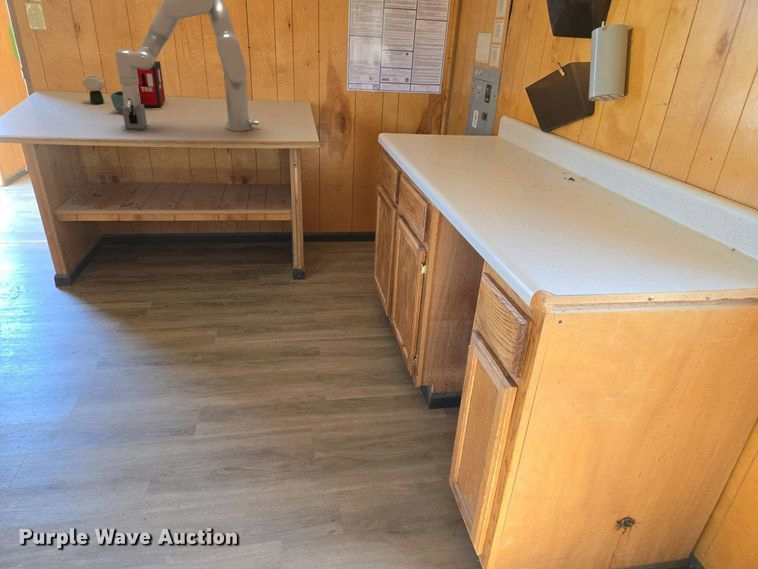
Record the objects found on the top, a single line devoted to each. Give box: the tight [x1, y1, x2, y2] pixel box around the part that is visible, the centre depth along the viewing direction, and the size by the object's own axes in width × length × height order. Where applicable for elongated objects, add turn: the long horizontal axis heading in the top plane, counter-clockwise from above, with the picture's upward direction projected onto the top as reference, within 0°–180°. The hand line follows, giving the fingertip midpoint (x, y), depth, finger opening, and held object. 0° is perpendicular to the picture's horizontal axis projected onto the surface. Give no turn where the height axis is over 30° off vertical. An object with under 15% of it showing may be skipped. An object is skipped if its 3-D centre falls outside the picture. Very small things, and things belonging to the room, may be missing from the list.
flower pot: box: [110, 90, 124, 114], centre depth 257 cm, size 9×9×9 cm
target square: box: [123, 124, 150, 132], centre depth 240 cm, size 9×9×1 cm
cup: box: [122, 103, 148, 129], centre depth 237 cm, size 8×8×9 cm
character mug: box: [82, 74, 106, 104], centre depth 266 cm, size 11×7×13 cm, turn 88°
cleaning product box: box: [137, 60, 166, 109], centre depth 270 cm, size 16×9×20 cm, turn 10°
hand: (135, 120), depth 238 cm, fingers closed on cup, 7 cm apart
